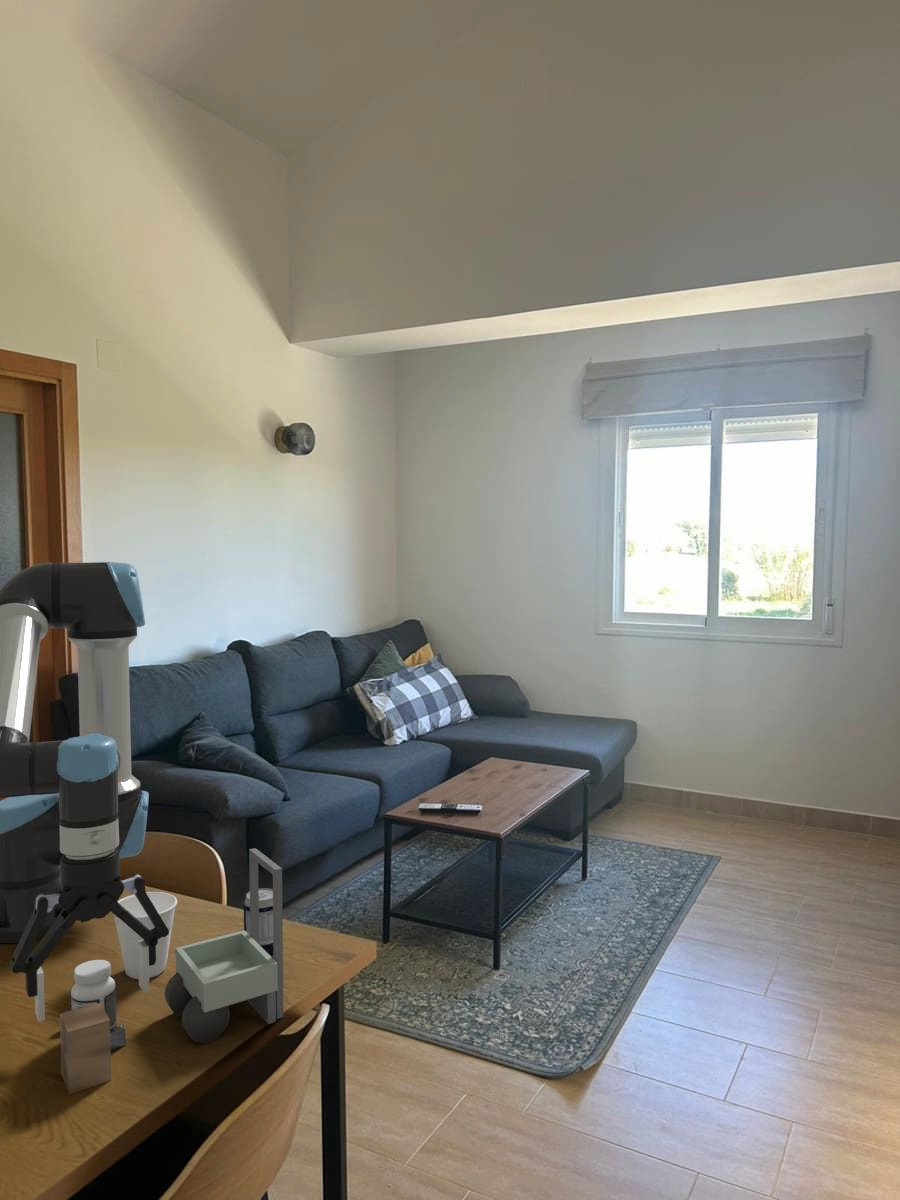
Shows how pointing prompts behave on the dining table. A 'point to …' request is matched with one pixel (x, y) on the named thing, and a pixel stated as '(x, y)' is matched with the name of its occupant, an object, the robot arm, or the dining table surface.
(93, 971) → the pill bottle
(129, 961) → the cup
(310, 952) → the dining table surface
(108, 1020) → the brown rectangular block
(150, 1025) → the dining table surface
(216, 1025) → the trolley
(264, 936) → the cylindrical canister
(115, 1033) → the grey blocks
